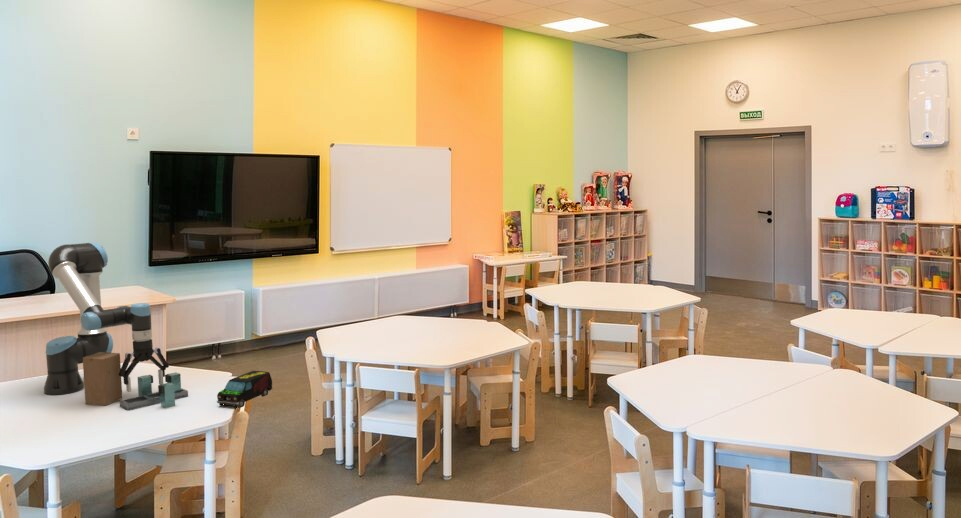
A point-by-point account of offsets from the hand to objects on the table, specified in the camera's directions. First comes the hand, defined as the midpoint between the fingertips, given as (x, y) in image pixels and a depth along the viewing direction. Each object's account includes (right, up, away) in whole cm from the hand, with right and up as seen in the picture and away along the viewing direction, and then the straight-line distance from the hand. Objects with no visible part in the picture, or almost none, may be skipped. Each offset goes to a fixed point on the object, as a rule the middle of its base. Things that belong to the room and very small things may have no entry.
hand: (145, 388), depth 295 cm
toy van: (+44, -5, -2) cm, 44 cm away
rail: (+7, -5, -5) cm, 10 cm away
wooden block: (-15, -5, -5) cm, 16 cm away
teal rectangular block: (0, -4, +1) cm, 4 cm away
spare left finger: (+15, -5, -11) cm, 19 cm away
